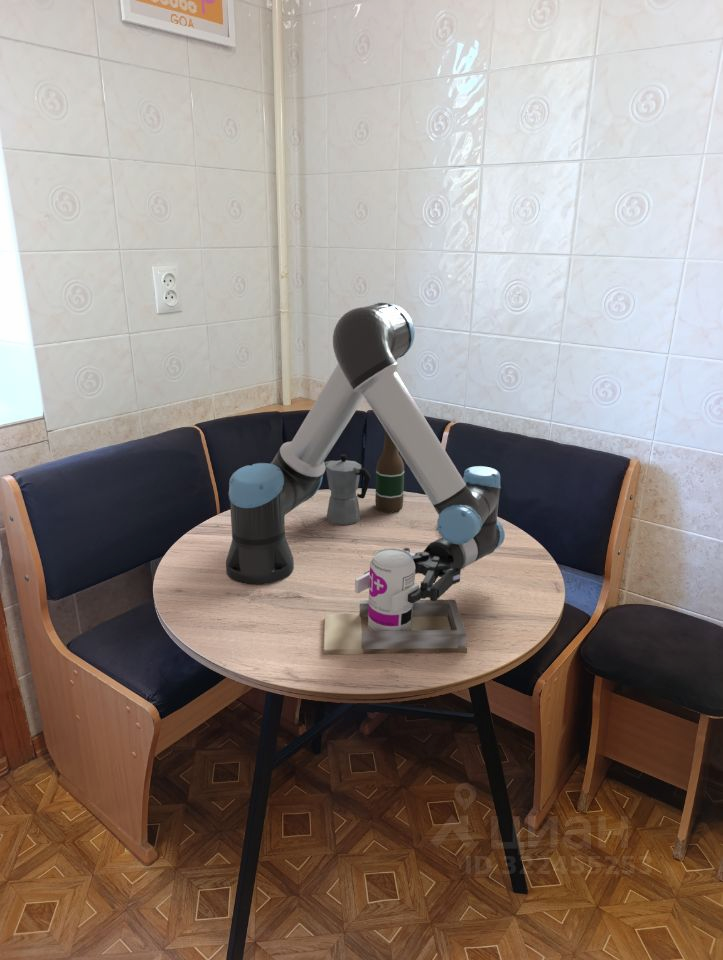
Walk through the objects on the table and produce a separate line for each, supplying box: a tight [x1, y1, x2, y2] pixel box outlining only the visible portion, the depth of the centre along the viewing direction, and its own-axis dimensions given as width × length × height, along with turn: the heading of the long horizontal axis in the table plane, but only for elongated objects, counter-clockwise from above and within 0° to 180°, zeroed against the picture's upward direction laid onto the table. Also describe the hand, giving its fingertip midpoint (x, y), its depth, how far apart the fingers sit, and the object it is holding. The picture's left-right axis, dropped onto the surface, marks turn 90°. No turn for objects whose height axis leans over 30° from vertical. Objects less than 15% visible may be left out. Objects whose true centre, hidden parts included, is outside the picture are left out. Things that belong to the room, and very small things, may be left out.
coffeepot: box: [324, 454, 372, 526], centre depth 174 cm, size 15×9×18 cm, turn 51°
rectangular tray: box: [323, 599, 468, 655], centre depth 125 cm, size 26×12×4 cm, turn 92°
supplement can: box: [368, 547, 416, 631], centre depth 122 cm, size 8×8×15 cm
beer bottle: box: [374, 429, 405, 514], centre depth 181 cm, size 8×8×24 cm
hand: (374, 594), depth 118 cm, fingers closed on supplement can, 8 cm apart
